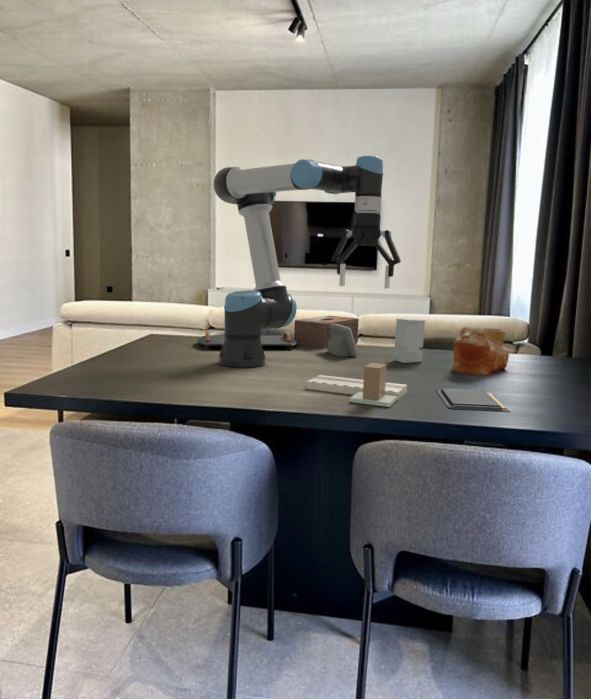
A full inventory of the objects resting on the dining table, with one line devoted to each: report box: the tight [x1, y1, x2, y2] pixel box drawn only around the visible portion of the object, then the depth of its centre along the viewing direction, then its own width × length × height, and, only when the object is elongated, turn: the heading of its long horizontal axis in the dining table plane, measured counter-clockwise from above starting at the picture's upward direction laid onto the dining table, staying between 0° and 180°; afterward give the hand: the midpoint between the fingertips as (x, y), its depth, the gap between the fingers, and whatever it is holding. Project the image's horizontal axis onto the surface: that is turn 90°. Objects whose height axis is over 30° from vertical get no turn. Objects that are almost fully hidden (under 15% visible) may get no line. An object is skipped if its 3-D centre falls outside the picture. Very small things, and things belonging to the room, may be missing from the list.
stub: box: [349, 362, 398, 408], centre depth 146 cm, size 10×8×9 cm
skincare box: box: [393, 317, 426, 364], centre depth 203 cm, size 8×6×15 cm
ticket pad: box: [305, 374, 408, 401], centre depth 158 cm, size 25×10×2 cm, turn 67°
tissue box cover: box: [293, 315, 359, 349], centre depth 240 cm, size 26×14×10 cm, turn 144°
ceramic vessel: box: [451, 325, 510, 377], centre depth 191 cm, size 14×26×15 cm, turn 138°
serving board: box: [196, 330, 297, 351], centre depth 228 cm, size 39×23×6 cm, turn 99°
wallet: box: [435, 387, 511, 413], centre depth 150 cm, size 20×2×15 cm
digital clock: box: [327, 323, 359, 358], centre depth 215 cm, size 16×9×11 cm, turn 8°
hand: (364, 287), depth 172 cm, fingers open, 13 cm apart
